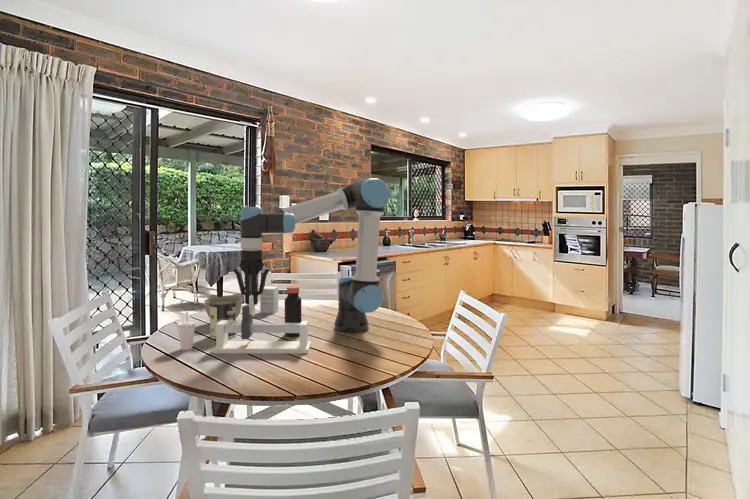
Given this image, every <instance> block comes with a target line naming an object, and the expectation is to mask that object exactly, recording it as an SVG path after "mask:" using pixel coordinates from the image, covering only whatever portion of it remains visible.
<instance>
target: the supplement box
mask: <svg viewBox="0 0 750 499" xmlns="http://www.w3.org/2000/svg"><path fill="white" fill-rule="evenodd" d="M259 298H260V299H259V300H260V301H259V302H260V303H259V305H260V314H272V313H274V314H276V313H277V312H278V311H279V286H276V285H275V286H272V285H271V286H270V285H269V286H268V285H267V286H266V285H265V286H264V290H263V293H262V294H260V295H259Z"/></svg>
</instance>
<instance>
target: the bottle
mask: <svg viewBox="0 0 750 499" xmlns="http://www.w3.org/2000/svg"><path fill="white" fill-rule="evenodd" d="M286 294H287V296H286V297H285V298H284V323H301V322H302V298H301V297H300V296H299V294H300V287H299V286H298V285H297V286H296V285H295V286H293V285H292V286H291V285H290V286H286ZM284 336H286V337H290V338H294V337H295V338H296V337H300V333H284Z"/></svg>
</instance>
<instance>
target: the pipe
mask: <svg viewBox="0 0 750 499" xmlns="http://www.w3.org/2000/svg"><path fill="white" fill-rule="evenodd" d="M224 333H236V334H241V322H236V323H226V324H224ZM249 333H253V334H285V333H300V323H285V322H253V323H250V324H249Z"/></svg>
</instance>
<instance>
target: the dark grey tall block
mask: <svg viewBox="0 0 750 499" xmlns="http://www.w3.org/2000/svg"><path fill="white" fill-rule="evenodd" d="M252 315H253V314H249V305H247V304H245V305H242V307H241V318H242V319H241V322H240V323H241V333H240V335H241V340H249V339H250V338H251V336H252V335H253V334H254V333H249V324H250V323H254V322H253V316H252Z"/></svg>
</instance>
